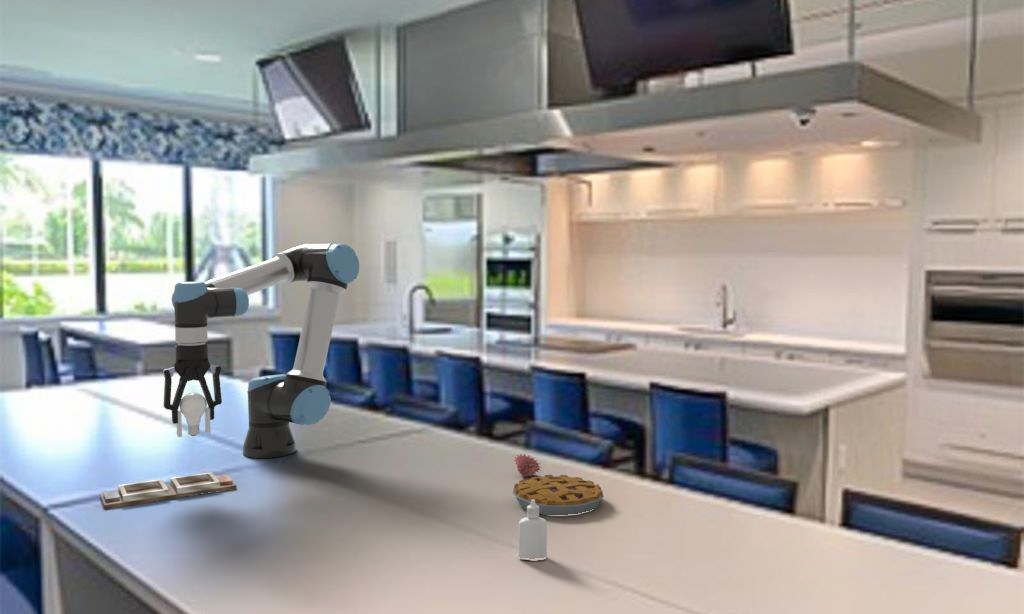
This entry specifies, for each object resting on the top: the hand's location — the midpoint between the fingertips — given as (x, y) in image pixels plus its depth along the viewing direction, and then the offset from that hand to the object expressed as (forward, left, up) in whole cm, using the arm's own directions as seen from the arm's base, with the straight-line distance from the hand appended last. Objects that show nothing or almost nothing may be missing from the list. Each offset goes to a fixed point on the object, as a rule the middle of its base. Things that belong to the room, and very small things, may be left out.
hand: (193, 434), depth 199 cm
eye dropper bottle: (-49, +81, -14) cm, 96 cm away
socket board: (+6, 0, -14) cm, 16 cm away
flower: (-79, +33, -15) cm, 87 cm away
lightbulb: (0, 0, -1) cm, 1 cm away
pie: (-73, +56, -15) cm, 93 cm away
